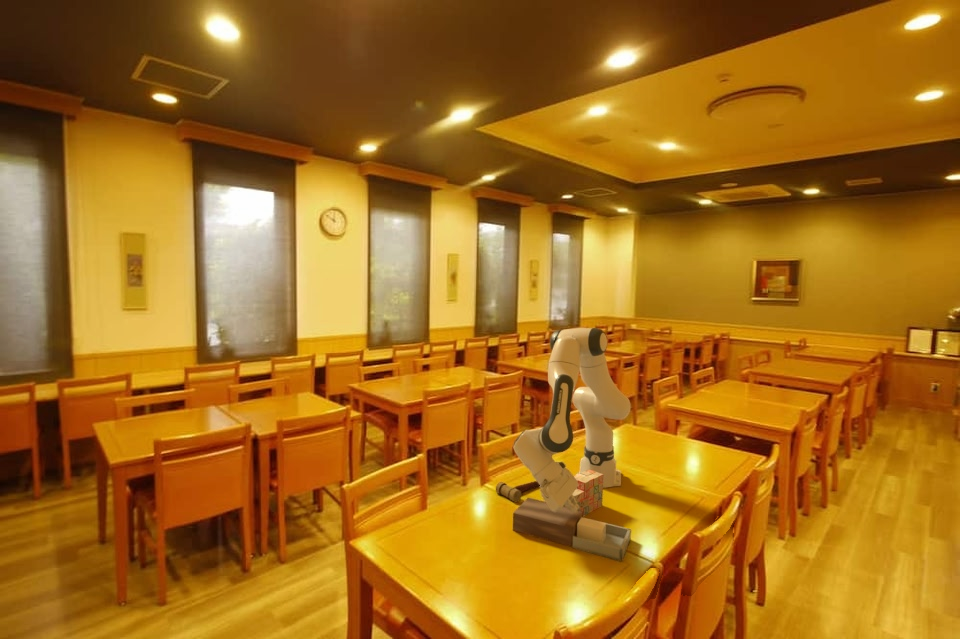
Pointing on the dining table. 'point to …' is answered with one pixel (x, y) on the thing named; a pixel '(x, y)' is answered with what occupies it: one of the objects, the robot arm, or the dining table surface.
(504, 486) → the gavel
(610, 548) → the box
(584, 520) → the tile block
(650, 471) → the dining table surface
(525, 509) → the dark brown brick
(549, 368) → the robot arm
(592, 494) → the stack of blocks
